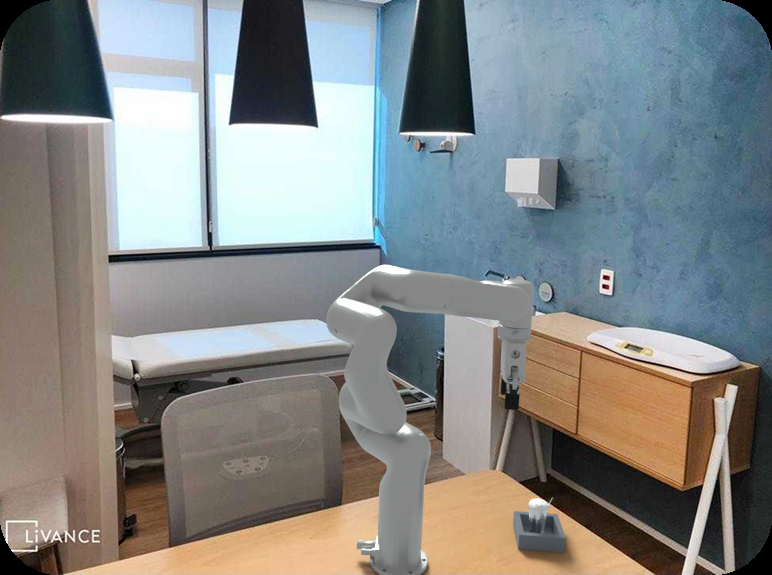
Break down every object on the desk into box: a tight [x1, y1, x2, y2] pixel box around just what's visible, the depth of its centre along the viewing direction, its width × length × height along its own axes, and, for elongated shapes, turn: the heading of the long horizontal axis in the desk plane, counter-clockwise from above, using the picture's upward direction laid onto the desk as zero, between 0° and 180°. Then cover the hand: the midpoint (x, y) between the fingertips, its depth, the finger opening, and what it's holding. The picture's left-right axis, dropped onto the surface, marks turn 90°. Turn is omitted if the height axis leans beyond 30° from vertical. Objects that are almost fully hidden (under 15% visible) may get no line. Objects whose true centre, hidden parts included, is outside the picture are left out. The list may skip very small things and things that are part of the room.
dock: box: [512, 510, 567, 554], centre depth 154 cm, size 10×10×4 cm
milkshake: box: [528, 496, 554, 534], centre depth 153 cm, size 4×5×10 cm
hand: (509, 401), depth 157 cm, fingers open, 9 cm apart
